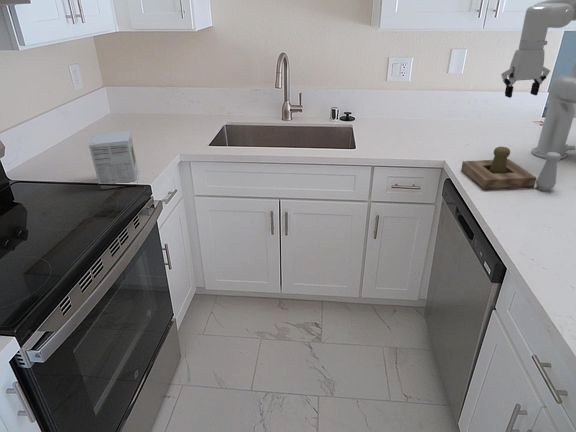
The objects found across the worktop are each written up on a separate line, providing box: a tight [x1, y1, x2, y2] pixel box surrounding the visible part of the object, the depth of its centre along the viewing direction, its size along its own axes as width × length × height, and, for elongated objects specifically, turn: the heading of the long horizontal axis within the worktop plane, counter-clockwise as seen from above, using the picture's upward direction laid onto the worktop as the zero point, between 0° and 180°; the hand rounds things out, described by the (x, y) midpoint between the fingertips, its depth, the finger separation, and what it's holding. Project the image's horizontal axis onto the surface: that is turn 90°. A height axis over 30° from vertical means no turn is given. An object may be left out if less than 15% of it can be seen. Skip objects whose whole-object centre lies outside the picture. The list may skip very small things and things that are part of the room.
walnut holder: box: [460, 158, 538, 192], centre depth 151 cm, size 18×18×4 cm
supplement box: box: [88, 130, 139, 185], centre depth 154 cm, size 13×13×18 cm
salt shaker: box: [535, 152, 561, 192], centre depth 141 cm, size 6×6×13 cm
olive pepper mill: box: [489, 146, 511, 174], centre depth 149 cm, size 6×6×11 cm
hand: (520, 95), depth 152 cm, fingers open, 9 cm apart
